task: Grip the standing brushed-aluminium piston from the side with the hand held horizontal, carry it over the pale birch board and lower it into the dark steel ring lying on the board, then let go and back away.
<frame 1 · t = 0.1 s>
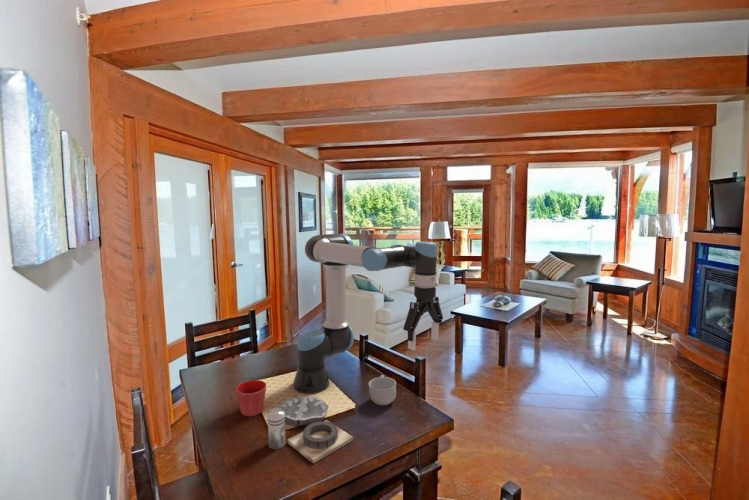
hand: (423, 344, 133), 28 cm above the table, tool pointing down, fingers open, 13 cm apart
piston: (277, 443, 120), on the table
ring board: (320, 441, 122), on the table
flower pot: (252, 411, 140), on the table
brain slice: (302, 415, 138), on the table
teacup: (382, 400, 149), on the table
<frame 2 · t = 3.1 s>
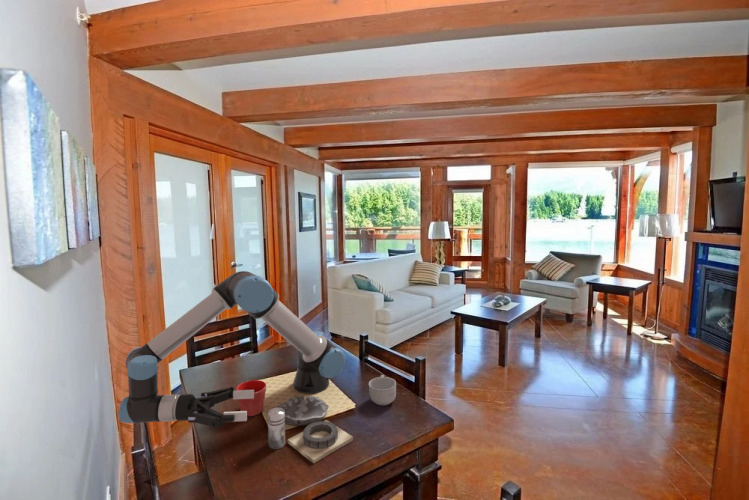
hand: (250, 404, 117), 14 cm above the table, tool horizontal, fingers open, 13 cm apart
nothing on the table moved.
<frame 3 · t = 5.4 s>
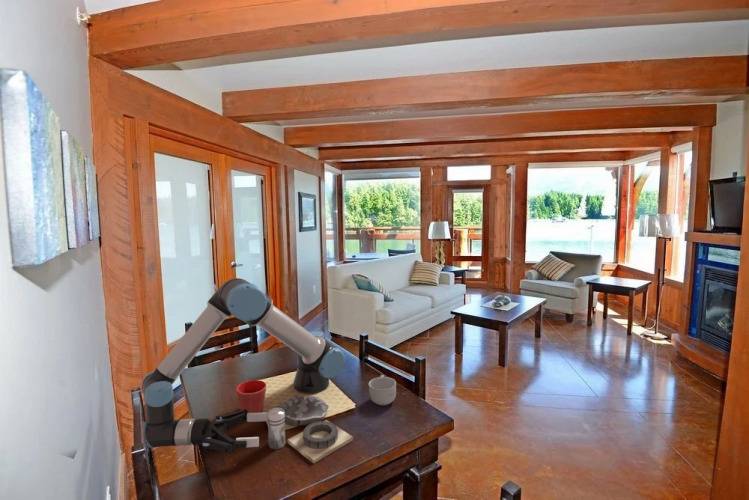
hand: (263, 428, 119), 6 cm above the table, tool horizontal, fingers open, 13 cm apart
nothing on the table moved.
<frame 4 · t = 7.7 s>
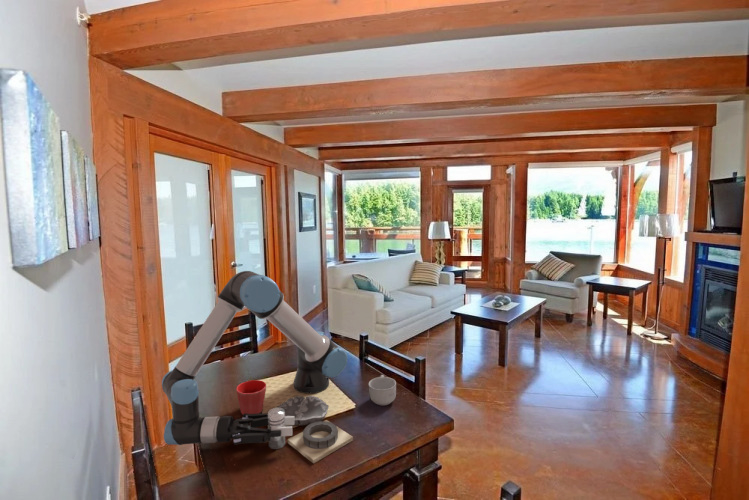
hand: (293, 425, 120), 6 cm above the table, tool horizontal, fingers closed on piston, 5 cm apart
piston: (277, 443, 120), on the table, touching gripper
everything else where it was.
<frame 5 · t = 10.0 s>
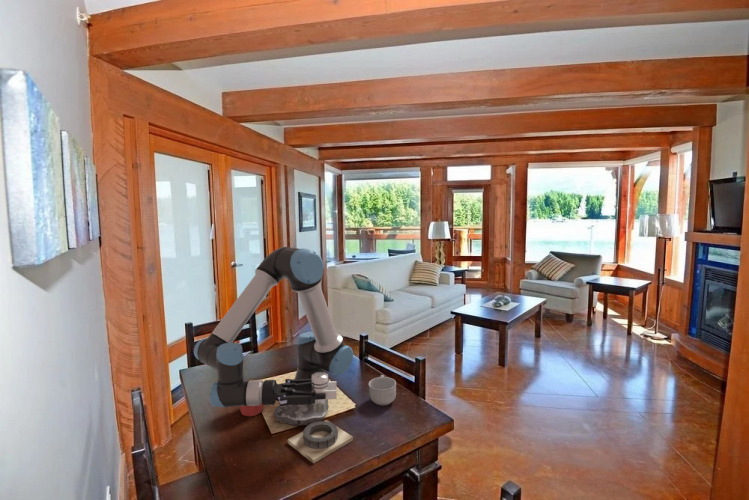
hand: (336, 389, 120), 18 cm above the table, tool horizontal, fingers closed on piston, 5 cm apart
piston: (320, 408, 120), point 12 cm above the table, touching gripper
everything else where it was.
when the fingers open (8 cm above the table, at t = 12.3 s): piston drops 1 cm, resting on ring board.
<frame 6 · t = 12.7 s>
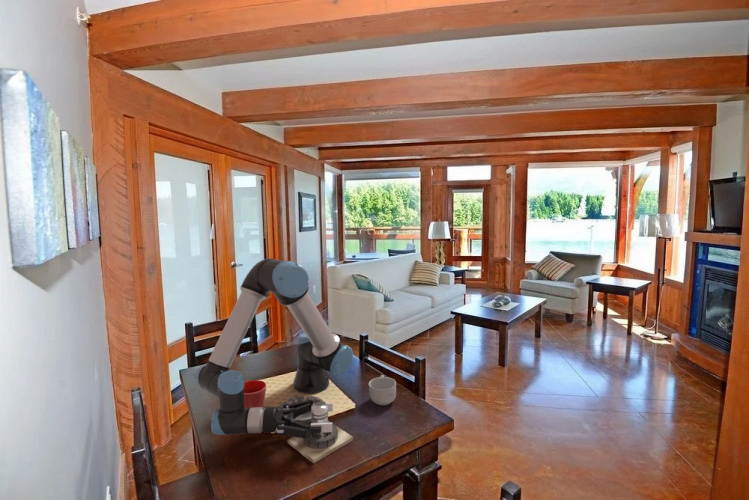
hand: (332, 416, 121), 8 cm above the table, tool horizontal, fingers open, 11 cm apart
piston: (320, 438, 122), point 1 cm above the table, touching ring board
everything else where it was.
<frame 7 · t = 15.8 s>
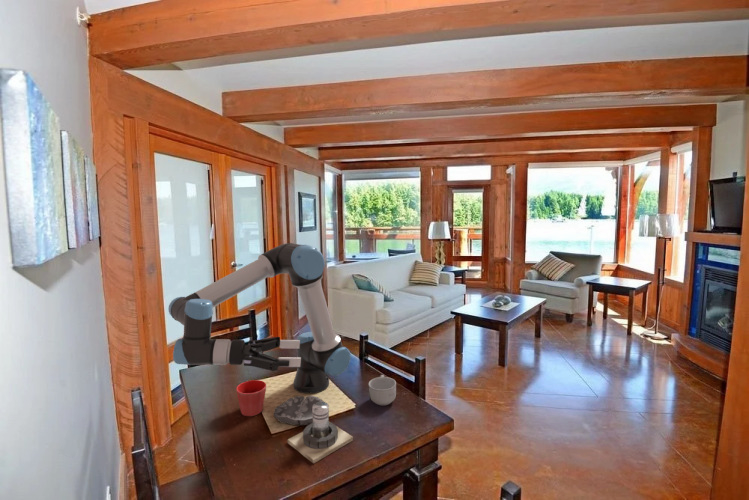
hand: (300, 352, 120), 30 cm above the table, tool horizontal, fingers open, 13 cm apart
nothing on the table moved.
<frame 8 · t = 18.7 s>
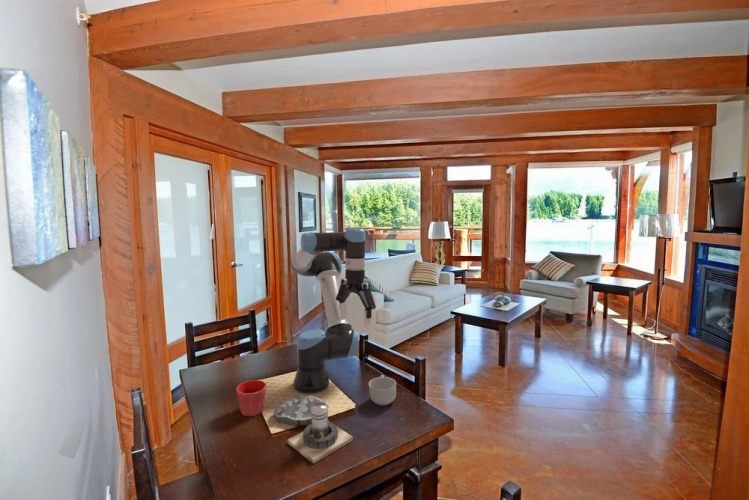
hand: (354, 322, 145), 32 cm above the table, tool pointing down, fingers open, 13 cm apart
nothing on the table moved.
at the end: piston 0.1 cm off-centre on the ring board, point 1.3 cm above the ring board's base; piston tilted 1°; the gripper is holding nothing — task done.
